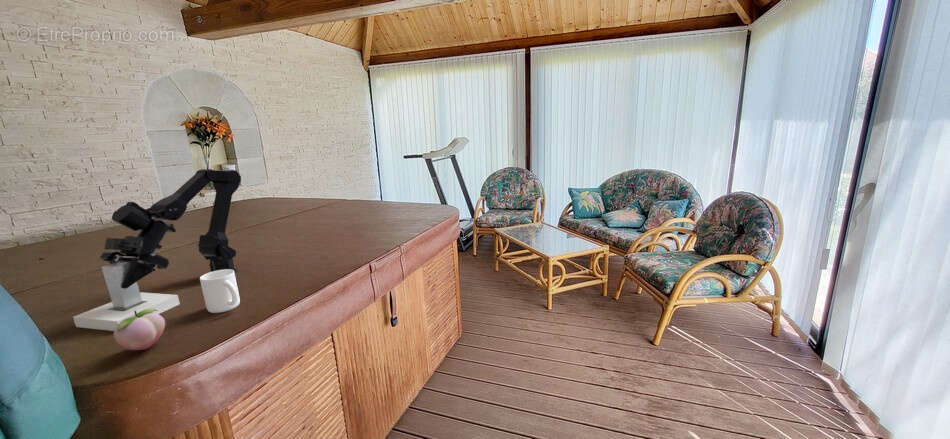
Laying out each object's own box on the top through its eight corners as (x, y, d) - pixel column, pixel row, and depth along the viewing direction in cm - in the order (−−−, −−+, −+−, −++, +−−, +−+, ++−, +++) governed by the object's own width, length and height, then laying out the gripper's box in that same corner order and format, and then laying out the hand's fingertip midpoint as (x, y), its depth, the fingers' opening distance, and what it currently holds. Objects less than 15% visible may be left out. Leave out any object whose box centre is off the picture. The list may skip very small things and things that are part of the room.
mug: (253, 306, 108) (246, 273, 106) (223, 319, 102) (215, 284, 99) (231, 298, 114) (225, 267, 112) (201, 310, 108) (193, 277, 105)
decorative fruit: (142, 339, 92) (132, 303, 90) (176, 337, 93) (167, 301, 91) (108, 362, 83) (96, 322, 81) (146, 359, 84) (134, 319, 81)
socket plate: (139, 300, 116) (137, 292, 115) (179, 304, 112) (177, 295, 111) (76, 326, 101) (72, 316, 100) (120, 331, 97) (117, 321, 96)
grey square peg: (131, 303, 108) (119, 261, 105) (143, 304, 108) (131, 262, 104) (114, 310, 104) (101, 267, 101) (126, 311, 103) (113, 267, 100)
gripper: (98, 224, 106) (60, 275, 98) (148, 225, 102) (113, 278, 94) (135, 242, 116) (103, 289, 108) (182, 244, 111) (153, 293, 104)
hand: (117, 287), depth 103 cm, fingers closed on grey square peg, 4 cm apart
